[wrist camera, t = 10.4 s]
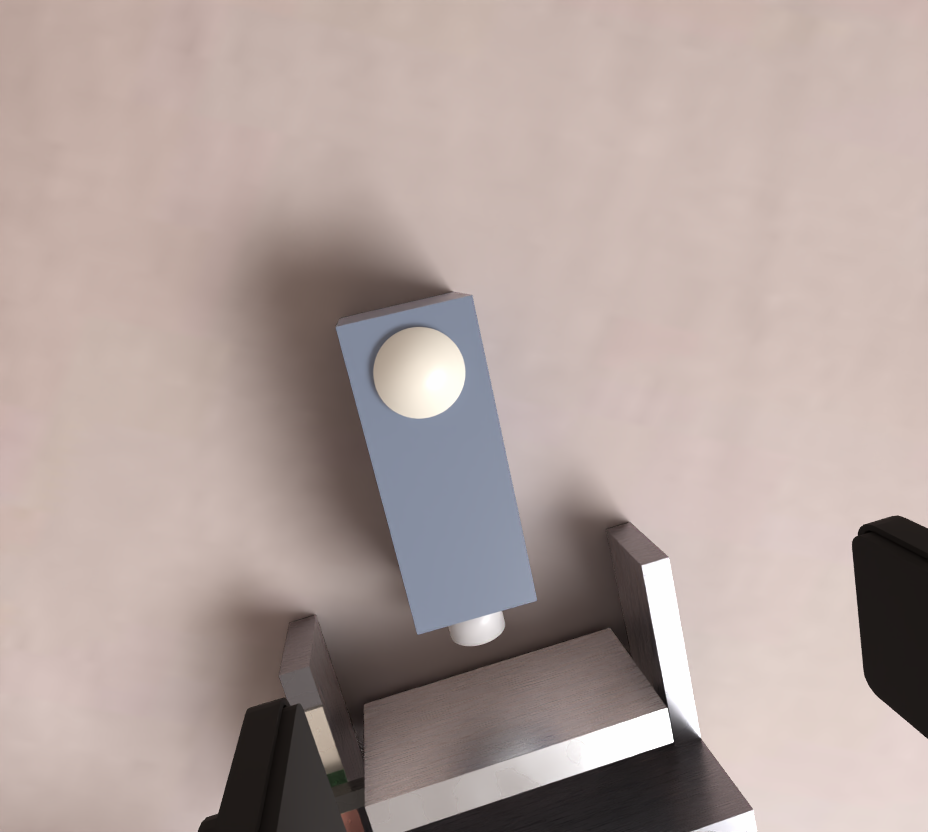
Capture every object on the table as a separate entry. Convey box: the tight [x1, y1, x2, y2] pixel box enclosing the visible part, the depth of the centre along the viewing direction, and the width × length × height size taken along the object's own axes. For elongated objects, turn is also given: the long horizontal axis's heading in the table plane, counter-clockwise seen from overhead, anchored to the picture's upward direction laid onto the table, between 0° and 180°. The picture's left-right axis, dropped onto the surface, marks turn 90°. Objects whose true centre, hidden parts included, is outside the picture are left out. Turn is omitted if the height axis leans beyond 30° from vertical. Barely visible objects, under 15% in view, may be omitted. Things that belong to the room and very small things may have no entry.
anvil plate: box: [331, 628, 673, 832], centre depth 28 cm, size 2×15×6 cm, turn 103°
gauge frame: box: [279, 522, 757, 832], centre depth 27 cm, size 10×16×8 cm, turn 103°
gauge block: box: [336, 292, 537, 646], centre depth 26 cm, size 5×14×5 cm, turn 12°
